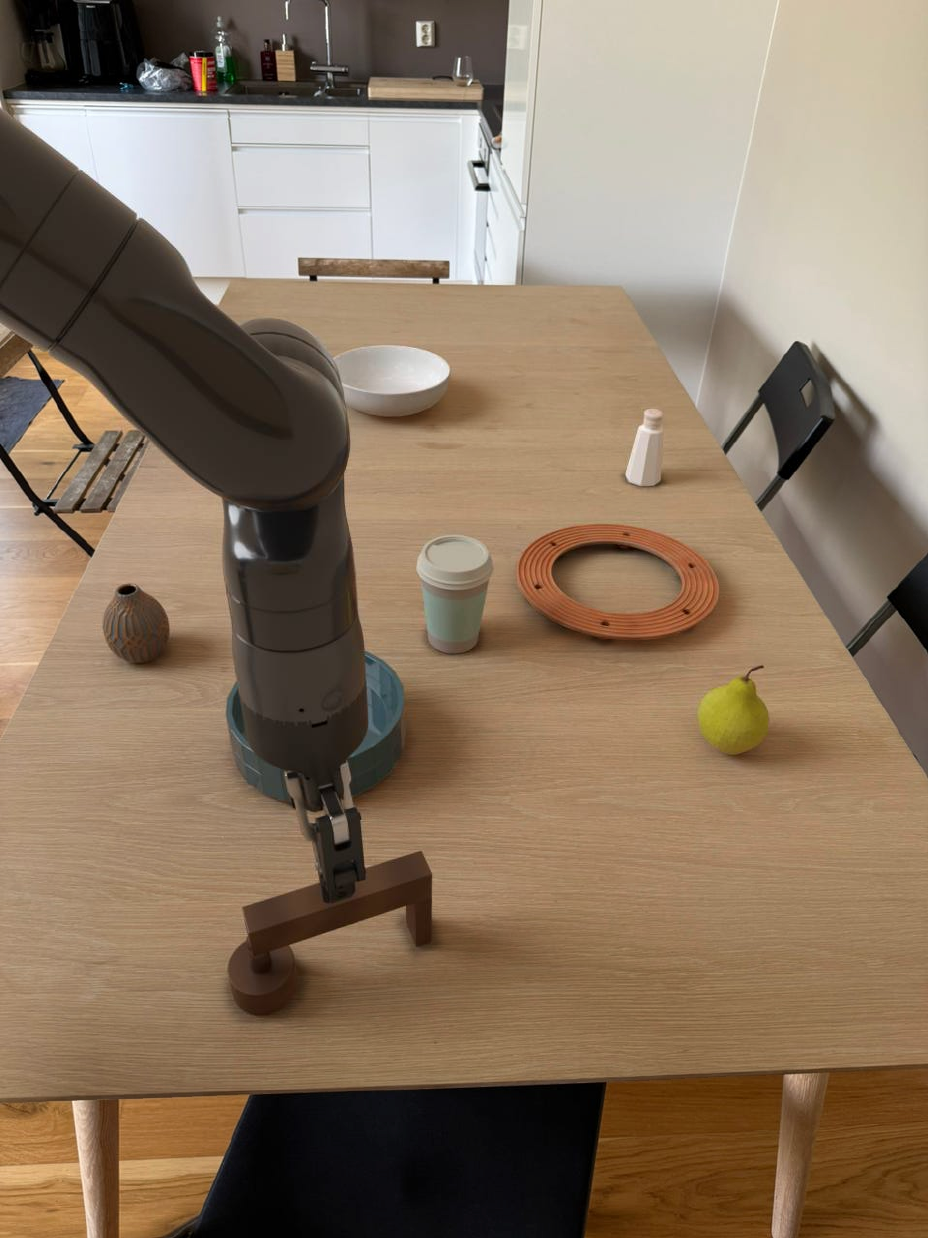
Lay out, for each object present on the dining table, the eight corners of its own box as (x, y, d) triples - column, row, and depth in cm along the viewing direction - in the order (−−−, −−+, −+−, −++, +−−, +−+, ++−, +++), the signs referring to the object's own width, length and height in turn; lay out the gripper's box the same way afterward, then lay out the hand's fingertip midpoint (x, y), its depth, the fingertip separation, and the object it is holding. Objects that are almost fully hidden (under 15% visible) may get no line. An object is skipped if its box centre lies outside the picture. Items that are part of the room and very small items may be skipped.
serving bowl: (357, 440, 144) (355, 400, 140) (313, 392, 159) (310, 354, 154) (470, 418, 152) (472, 379, 148) (418, 373, 167) (418, 337, 162)
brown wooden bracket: (239, 1025, 67) (223, 959, 62) (227, 968, 71) (210, 901, 65) (437, 954, 72) (438, 887, 67) (416, 905, 76) (415, 837, 70)
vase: (112, 637, 103) (95, 574, 98) (174, 629, 104) (161, 568, 99) (108, 675, 98) (90, 612, 92) (173, 667, 99) (159, 604, 94)
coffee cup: (503, 633, 106) (509, 548, 98) (462, 671, 100) (465, 584, 93) (444, 607, 109) (445, 523, 102) (402, 643, 104) (400, 557, 96)
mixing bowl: (254, 830, 82) (246, 785, 78) (219, 708, 94) (211, 665, 90) (429, 779, 87) (429, 735, 83) (374, 671, 100) (373, 629, 96)
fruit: (681, 724, 94) (703, 636, 87) (740, 716, 95) (766, 628, 88) (709, 772, 89) (735, 682, 82) (771, 762, 90) (802, 673, 83)
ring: (485, 554, 119) (485, 539, 117) (649, 523, 126) (652, 508, 125) (569, 672, 100) (571, 655, 99) (756, 627, 108) (761, 611, 106)
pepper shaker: (639, 490, 134) (650, 422, 127) (618, 474, 138) (628, 407, 131) (667, 482, 136) (680, 415, 129) (646, 467, 140) (657, 401, 133)
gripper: (216, 618, 56) (247, 790, 66) (265, 775, 46) (293, 951, 56) (330, 594, 59) (344, 763, 69) (402, 738, 49) (406, 913, 58)
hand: (321, 847), depth 62 cm, fingers open, 8 cm apart
